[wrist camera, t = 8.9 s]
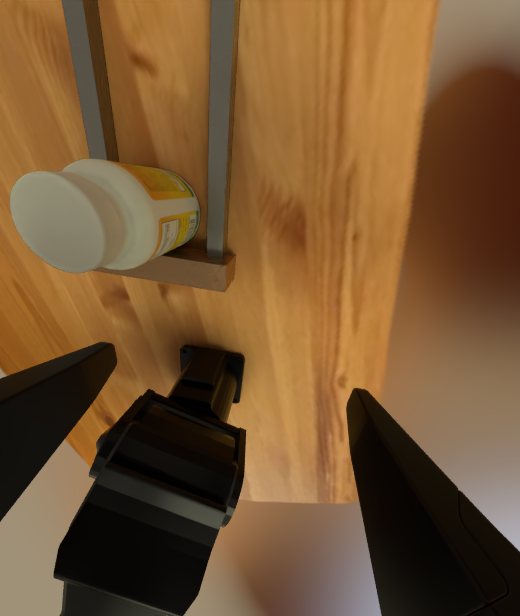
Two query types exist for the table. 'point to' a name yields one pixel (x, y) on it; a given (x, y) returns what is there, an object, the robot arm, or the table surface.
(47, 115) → the table surface
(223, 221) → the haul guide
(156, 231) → the supplement bottle
